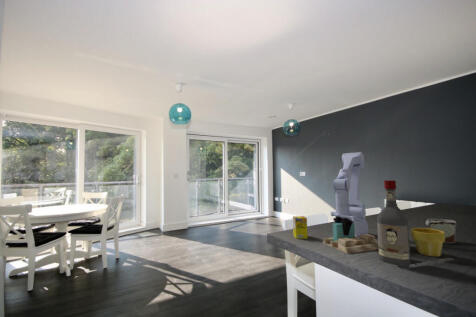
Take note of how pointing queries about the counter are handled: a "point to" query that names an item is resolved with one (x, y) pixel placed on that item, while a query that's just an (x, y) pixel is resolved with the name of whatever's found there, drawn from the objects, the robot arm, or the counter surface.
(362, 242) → the offcut
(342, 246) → the offcut
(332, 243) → the rack
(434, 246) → the plant pot
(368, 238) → the offcut
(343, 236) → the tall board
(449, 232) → the food container
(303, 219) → the supplement box
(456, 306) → the counter surface
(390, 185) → the liquor
